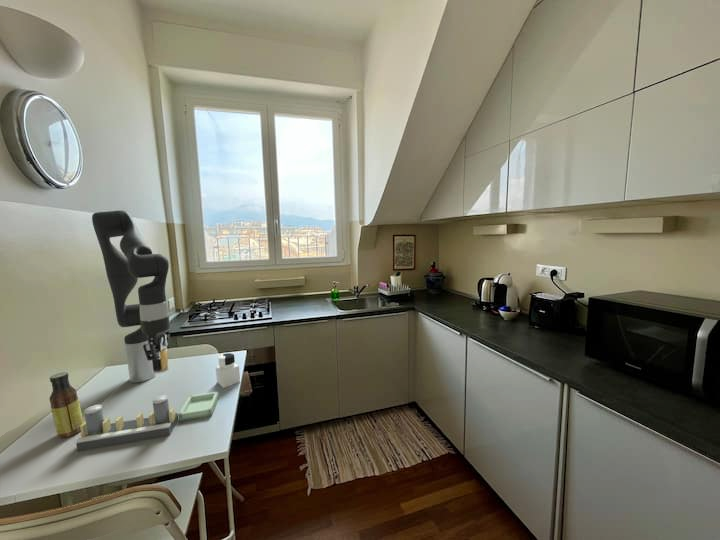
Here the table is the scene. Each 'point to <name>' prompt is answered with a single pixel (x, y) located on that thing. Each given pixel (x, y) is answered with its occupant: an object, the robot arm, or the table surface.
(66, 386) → the sauce bottle
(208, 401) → the tray
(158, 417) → the cylinder
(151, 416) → the fuse block
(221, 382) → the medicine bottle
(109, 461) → the table surface
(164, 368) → the cylinder
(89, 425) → the dome-capped grey cylinder
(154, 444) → the table surface
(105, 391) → the table surface
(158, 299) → the robot arm
